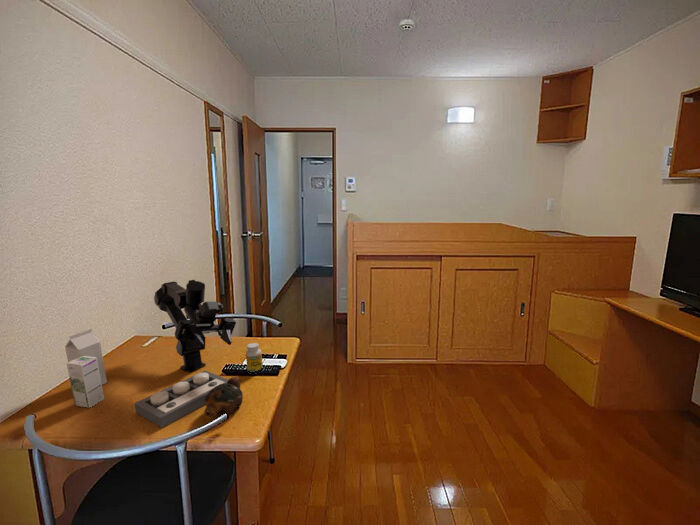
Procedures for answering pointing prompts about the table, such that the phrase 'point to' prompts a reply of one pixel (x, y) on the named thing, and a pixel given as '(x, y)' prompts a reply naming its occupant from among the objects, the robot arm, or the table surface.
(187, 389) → the button
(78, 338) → the milk carton
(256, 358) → the supplement bottle
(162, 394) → the button
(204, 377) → the button
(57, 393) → the table surface
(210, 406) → the decorative turtle
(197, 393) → the board
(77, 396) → the syrup box
